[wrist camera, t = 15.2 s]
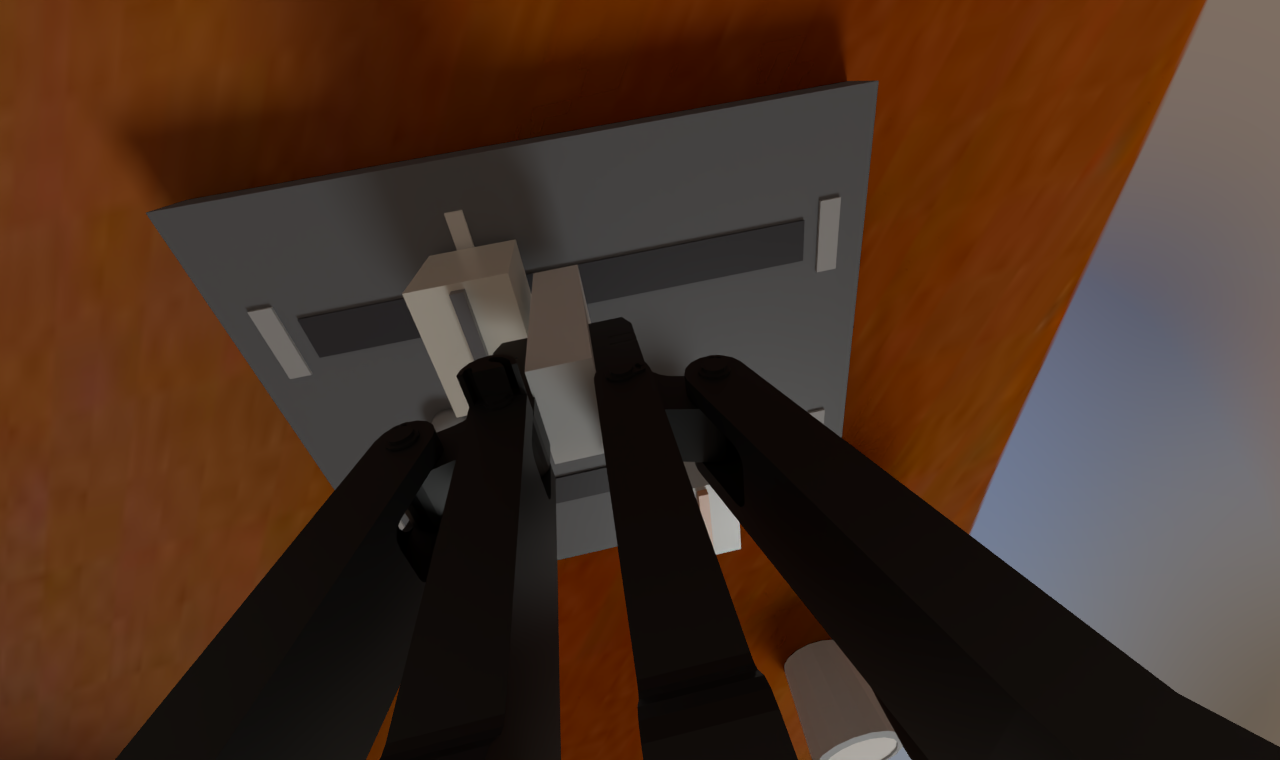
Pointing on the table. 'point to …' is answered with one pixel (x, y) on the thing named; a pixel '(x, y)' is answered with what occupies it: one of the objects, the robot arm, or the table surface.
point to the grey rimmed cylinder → (837, 706)
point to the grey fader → (714, 513)
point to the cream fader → (469, 308)
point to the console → (553, 264)
